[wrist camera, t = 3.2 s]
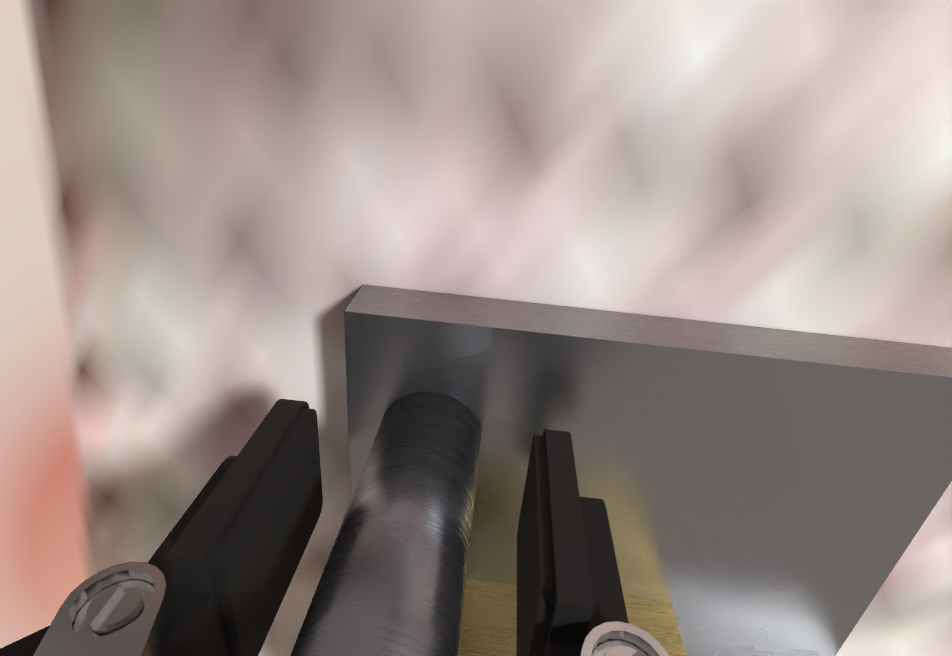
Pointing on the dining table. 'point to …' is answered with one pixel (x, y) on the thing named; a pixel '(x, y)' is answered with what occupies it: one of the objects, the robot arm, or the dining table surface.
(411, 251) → the dining table surface
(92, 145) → the dining table surface
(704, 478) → the square hole fixture
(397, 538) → the grey metal peg
